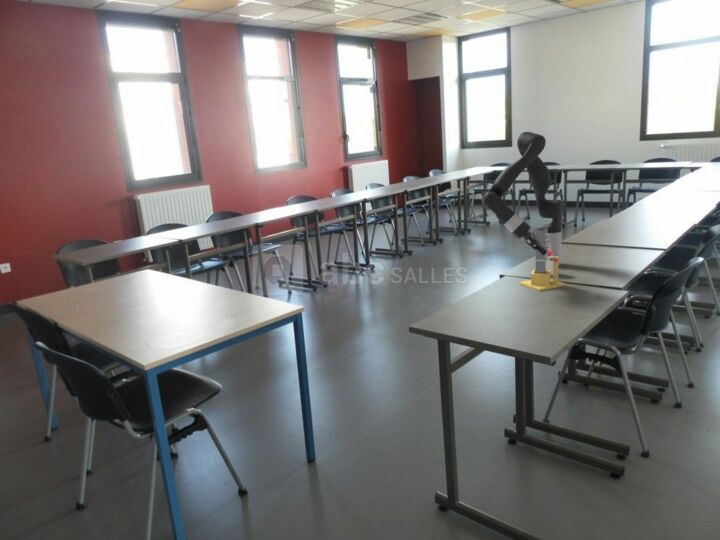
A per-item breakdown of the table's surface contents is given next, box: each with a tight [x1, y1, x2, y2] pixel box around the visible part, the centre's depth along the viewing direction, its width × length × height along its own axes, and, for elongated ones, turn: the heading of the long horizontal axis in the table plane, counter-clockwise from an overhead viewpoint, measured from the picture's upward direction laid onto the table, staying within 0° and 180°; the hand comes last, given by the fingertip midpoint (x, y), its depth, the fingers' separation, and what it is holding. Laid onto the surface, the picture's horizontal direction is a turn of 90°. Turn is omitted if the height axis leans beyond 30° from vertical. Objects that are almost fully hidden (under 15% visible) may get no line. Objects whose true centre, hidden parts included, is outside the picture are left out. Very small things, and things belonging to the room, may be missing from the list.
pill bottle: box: [546, 251, 554, 276], centre depth 255 cm, size 8×8×11 cm
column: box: [534, 227, 548, 273], centre depth 235 cm, size 6×5×19 cm
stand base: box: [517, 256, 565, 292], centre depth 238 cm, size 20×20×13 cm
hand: (545, 252), depth 235 cm, fingers closed on column, 4 cm apart
